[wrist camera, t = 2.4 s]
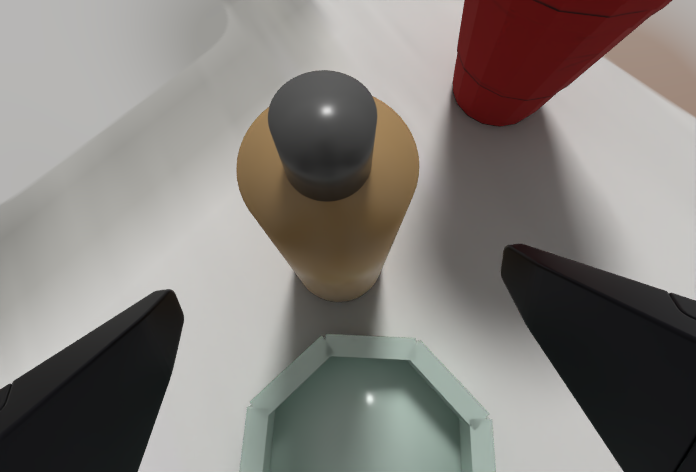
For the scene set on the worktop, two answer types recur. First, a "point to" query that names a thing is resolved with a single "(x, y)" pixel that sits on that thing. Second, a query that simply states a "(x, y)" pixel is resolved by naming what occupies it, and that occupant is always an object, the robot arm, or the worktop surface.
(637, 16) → the plastic cup
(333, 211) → the bottle
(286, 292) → the worktop surface
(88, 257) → the worktop surface
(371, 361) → the dish
